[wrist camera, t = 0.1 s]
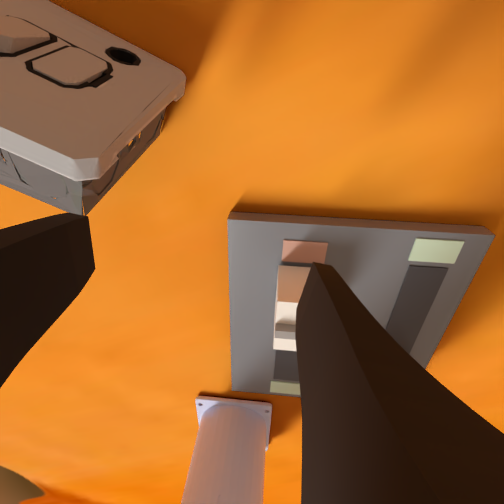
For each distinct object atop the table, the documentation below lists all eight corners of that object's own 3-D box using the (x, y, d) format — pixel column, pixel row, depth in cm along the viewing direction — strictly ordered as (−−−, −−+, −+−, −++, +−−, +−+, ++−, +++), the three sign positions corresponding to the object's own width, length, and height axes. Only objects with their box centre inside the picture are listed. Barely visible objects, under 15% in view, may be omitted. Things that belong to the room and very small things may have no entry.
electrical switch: (194, 74, 16) (95, 113, 8) (170, 160, 19) (83, 245, 11) (12, -21, 14) (-303, -78, 7) (20, 89, 17) (-192, 132, 10)
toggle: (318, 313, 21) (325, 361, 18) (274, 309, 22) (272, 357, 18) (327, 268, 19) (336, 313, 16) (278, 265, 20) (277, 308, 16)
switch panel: (400, 395, 28) (405, 408, 27) (233, 379, 29) (231, 391, 28) (483, 226, 18) (496, 236, 17) (230, 211, 19) (227, 219, 18)
